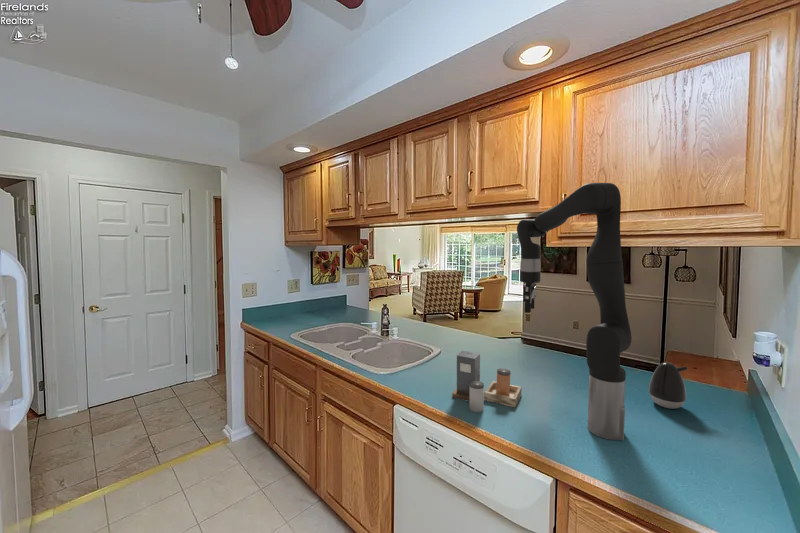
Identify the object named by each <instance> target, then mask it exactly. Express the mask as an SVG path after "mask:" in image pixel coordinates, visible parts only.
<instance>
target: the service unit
mask: <svg viewBox="0 0 800 533" xmlns="http://www.w3.org/2000/svg"><path fill="white" fill-rule="evenodd" d="M471 381H480V382H481V353H479V352H478V353H477V352H471V351H465V350H461V351H460V352H459V353H458V354H457V355H456V388H455V390H453V392H452V393H451V396H452V398H454V397H455V399H459V400H463V401H466V400H467V402H469V396H470V382H471Z"/></svg>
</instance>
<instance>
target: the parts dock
mask: <svg viewBox="0 0 800 533" xmlns="http://www.w3.org/2000/svg"><path fill="white" fill-rule="evenodd" d="M496 383H497V381H495V380H491V382H490V383H489V385H488V386H487V387H486V388H485V389H484V401H486V400H487V401H486V402H490V401H491V402H492V403H494V402H496V403H495V404H498V403H499V404H498V405H503V404H504V405H503V406H508V407H511V408H512V407H513V408H516V407H517V405H518V403H519V401H520V399H521V397H522V386H520V385H513V384H510V396H505V395H500V394H496Z"/></svg>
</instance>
